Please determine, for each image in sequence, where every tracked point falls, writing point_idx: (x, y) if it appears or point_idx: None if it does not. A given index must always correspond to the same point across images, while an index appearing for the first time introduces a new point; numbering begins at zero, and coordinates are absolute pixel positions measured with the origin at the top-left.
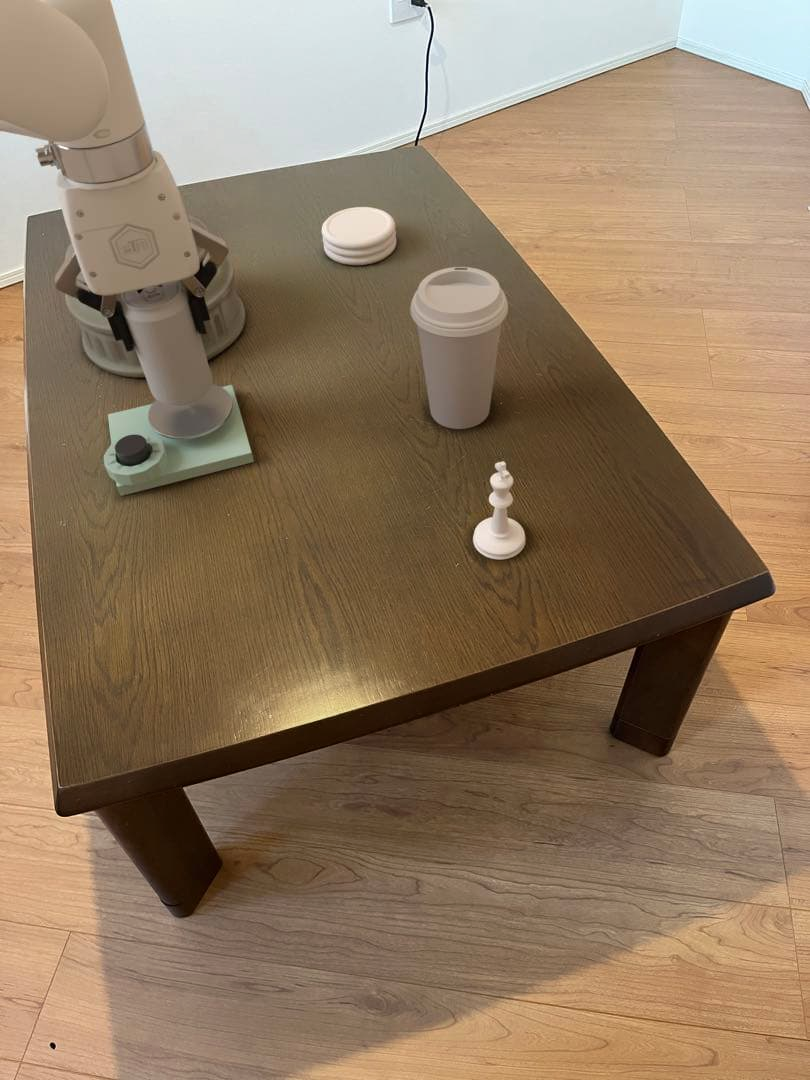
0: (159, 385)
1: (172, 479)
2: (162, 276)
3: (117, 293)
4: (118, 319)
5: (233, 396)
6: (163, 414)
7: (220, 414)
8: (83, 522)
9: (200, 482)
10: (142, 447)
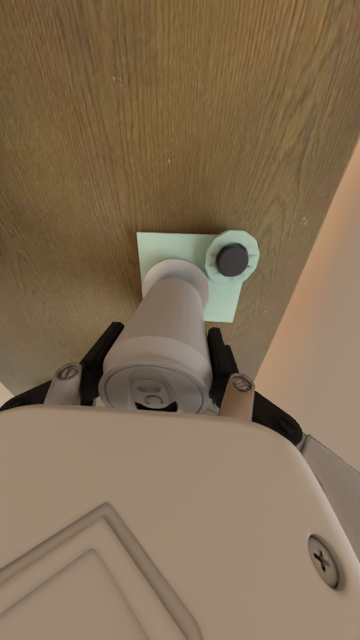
0: (192, 293)
1: (206, 234)
2: (70, 435)
3: (223, 419)
4: (224, 364)
5: None
6: None
7: (152, 277)
8: (289, 214)
9: (185, 225)
10: (225, 253)
